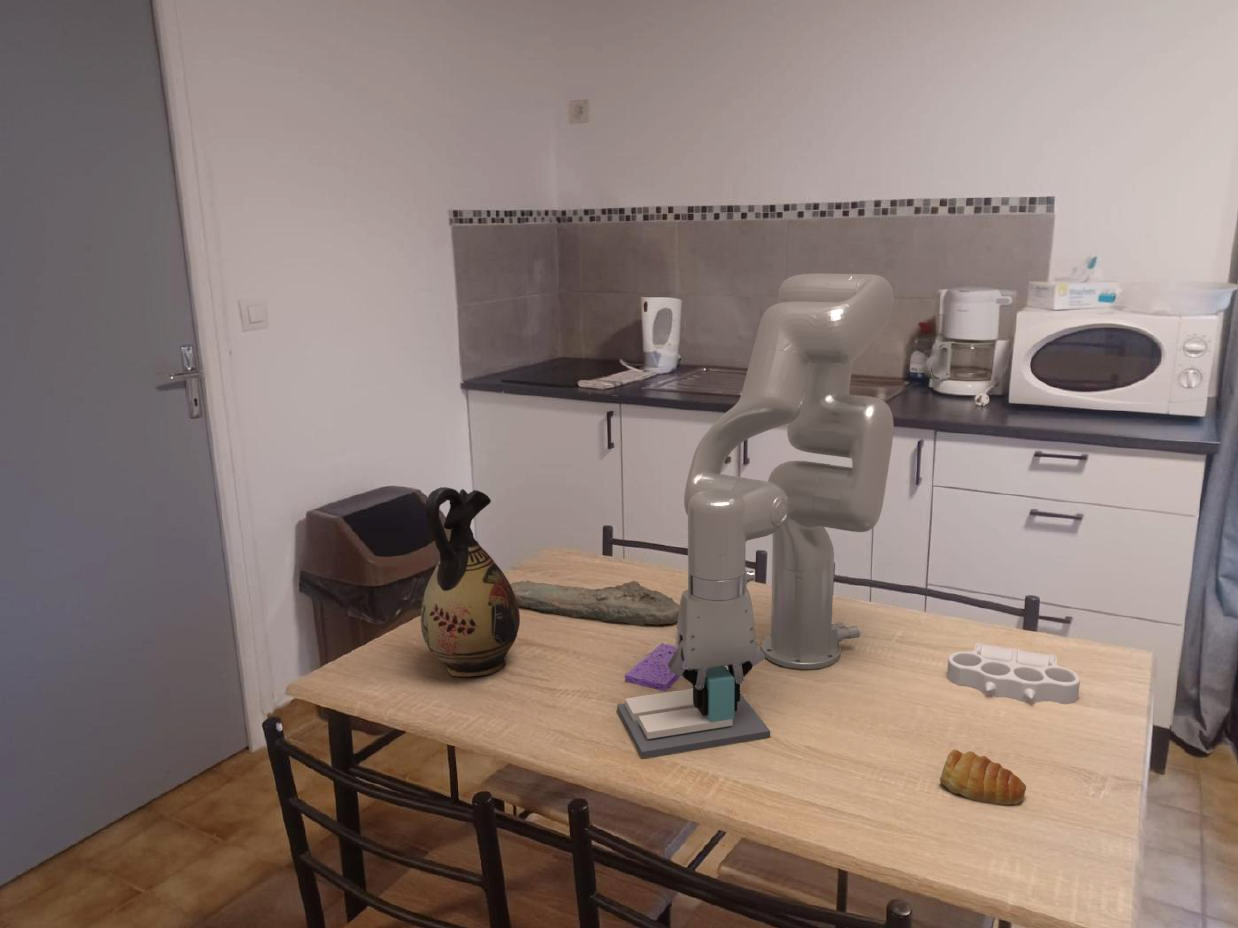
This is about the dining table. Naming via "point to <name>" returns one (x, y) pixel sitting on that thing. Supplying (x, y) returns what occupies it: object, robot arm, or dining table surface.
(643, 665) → the sponges
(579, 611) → the elongated rock
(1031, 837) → the dining table surface
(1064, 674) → the knuckle duster
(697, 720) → the stub
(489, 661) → the ceramic jug
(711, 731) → the mat
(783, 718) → the dining table surface
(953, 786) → the pastry
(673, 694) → the ticket
